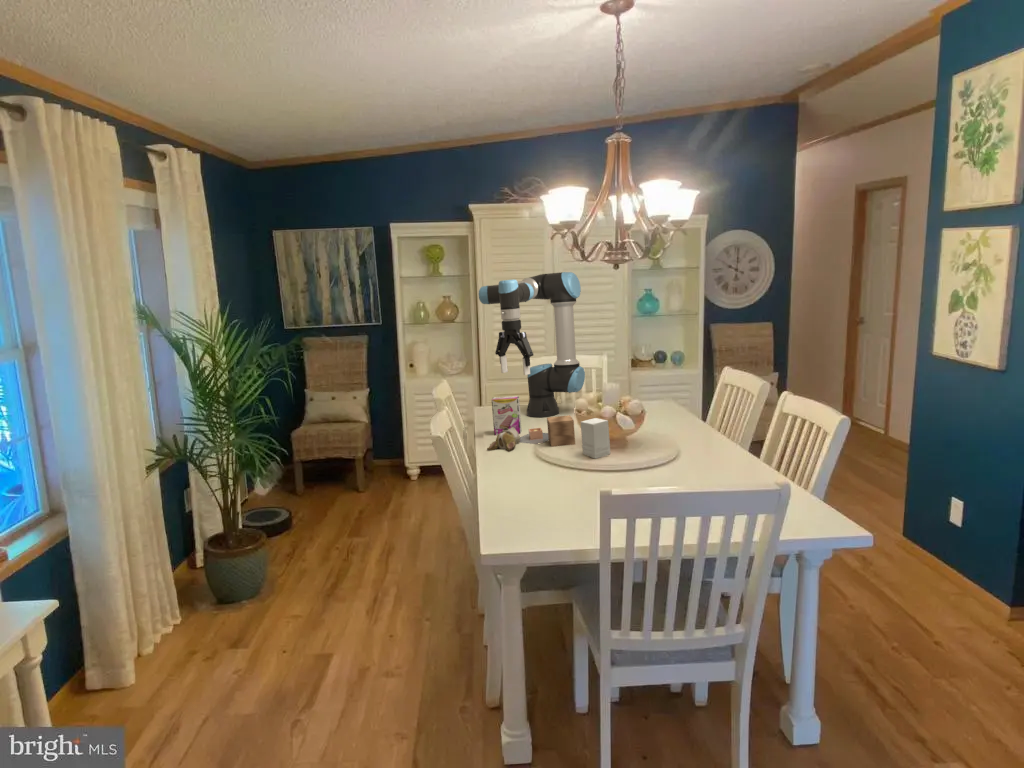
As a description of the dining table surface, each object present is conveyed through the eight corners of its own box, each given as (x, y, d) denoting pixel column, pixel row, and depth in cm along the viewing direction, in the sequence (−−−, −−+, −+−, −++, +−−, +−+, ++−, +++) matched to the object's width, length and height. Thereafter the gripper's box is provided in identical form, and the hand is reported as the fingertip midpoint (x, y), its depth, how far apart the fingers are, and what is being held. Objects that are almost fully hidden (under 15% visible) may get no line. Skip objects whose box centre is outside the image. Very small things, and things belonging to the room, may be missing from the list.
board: (532, 434, 288) (532, 431, 287) (561, 437, 279) (561, 434, 279) (510, 444, 275) (510, 441, 275) (539, 447, 267) (539, 444, 266)
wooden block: (571, 440, 271) (569, 415, 269) (575, 446, 262) (573, 420, 261) (548, 442, 271) (546, 417, 269) (551, 448, 262) (549, 422, 260)
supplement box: (611, 454, 248) (609, 420, 246) (594, 459, 245) (592, 424, 243) (598, 451, 255) (596, 417, 253) (582, 455, 251) (579, 421, 249)
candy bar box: (494, 438, 287) (490, 399, 284) (495, 435, 292) (492, 397, 289) (521, 436, 286) (517, 397, 283) (522, 433, 291) (519, 395, 288)
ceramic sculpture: (525, 423, 271) (509, 434, 257) (527, 444, 272) (511, 457, 259) (500, 422, 275) (483, 434, 262) (503, 443, 277) (486, 456, 264)
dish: (541, 435, 280) (540, 427, 279) (542, 438, 275) (542, 430, 274) (529, 436, 279) (528, 429, 279) (530, 439, 274) (529, 431, 274)
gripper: (483, 320, 278) (488, 373, 281) (524, 321, 259) (529, 377, 262) (498, 318, 282) (502, 370, 286) (539, 318, 264) (544, 373, 267)
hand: (515, 373), depth 274 cm, fingers open, 13 cm apart
